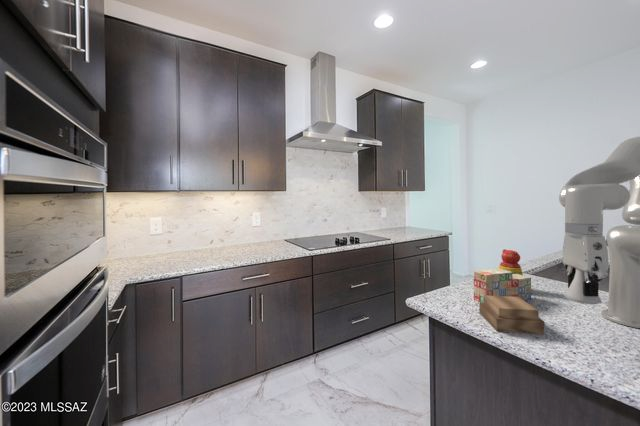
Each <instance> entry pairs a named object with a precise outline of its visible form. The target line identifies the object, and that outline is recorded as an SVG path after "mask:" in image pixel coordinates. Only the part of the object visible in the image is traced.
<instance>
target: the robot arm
mask: <svg viewBox="0 0 640 426" xmlns="http://www.w3.org/2000/svg"><path fill="white" fill-rule="evenodd" d="M623 183H629V189H628V188H627V187H626V186H625V185H623ZM558 201H559V203H560V205H561V207H563V208H564V209H565V210H564V237H563V238H564V239H563V246H562V247H563V248H562V259H561V262H562V264H563V266H564V267H565V268H564V269H566V274H567V289H568V288H569V287H570V285H571V283H572V281H573V279H574V277H575V273H576V268H577V269H580V270H583V271H584V276H585V281H586V282H583V295H584V296H595V297H597V296H598V295H599V285H600V283H601V282H602V280H603V279H604V278H607V277H609V284H608V306H607V307H608V308H606V309H603V310H601V316H602V317H603V318H604V319H607V320H609V321H611V322H614V323H616V324H620V325H623V326H627V327H632V328H634V329H635V328H636V329H640V136H635V137H632V138H628V139H626V140H624V141H622V142H620V143H619V145H618V146H617V147H616V148H615V149H614V150H613V151H612V152H611V154H610V155H609V156H608V158H606V159H605V160H604V161H603V162H601V163H598V164H596V165H594V166H592V167H590V168H587V169H585V170H583V171H580V172H579V173H576V174H575V175H574V176H572V177H570V179H569V180H568V181H567V182H566V183H565V184H564V186H563V187H562V188H561V190H560V192H559V195H558ZM621 208H622V212H621V213H622V214H621V216H622V217H621V218H622V220H623V221H624V222H626V223H627V224H629V225H627V224H625V225H624V224H623V225H616V226H613V227H611V228H610V229H609V230H608V231H607V233H606V237H605V235H604V233H603V232H604V224H603V223H604V211H614V210H619V209H621ZM608 271H609V272H608ZM591 274H592V275H591Z"/></svg>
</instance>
